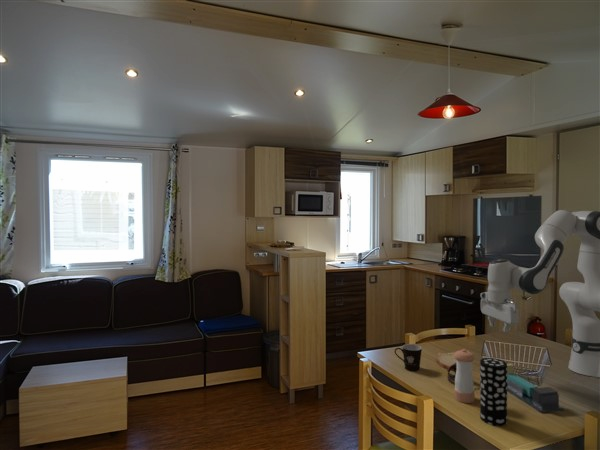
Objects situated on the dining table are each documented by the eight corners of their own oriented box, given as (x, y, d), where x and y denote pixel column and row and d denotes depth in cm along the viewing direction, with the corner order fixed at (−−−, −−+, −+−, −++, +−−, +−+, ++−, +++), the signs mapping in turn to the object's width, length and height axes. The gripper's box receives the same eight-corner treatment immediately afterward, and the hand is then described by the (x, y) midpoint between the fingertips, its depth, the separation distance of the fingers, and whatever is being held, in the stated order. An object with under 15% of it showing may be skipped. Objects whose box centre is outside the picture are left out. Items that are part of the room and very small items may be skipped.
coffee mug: (425, 369, 181) (425, 347, 181) (414, 373, 176) (413, 351, 176) (405, 361, 191) (405, 341, 190) (393, 366, 186) (393, 345, 185)
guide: (516, 382, 166) (516, 367, 166) (563, 410, 142) (563, 393, 142) (497, 384, 164) (497, 369, 164) (541, 412, 141) (541, 395, 141)
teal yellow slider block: (510, 379, 165) (510, 363, 165) (537, 396, 151) (537, 377, 150) (503, 380, 165) (503, 364, 165) (529, 396, 150) (529, 378, 150)
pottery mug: (477, 387, 163) (469, 372, 161) (455, 395, 165) (447, 380, 163) (467, 368, 175) (460, 354, 173) (447, 377, 177) (439, 362, 175)
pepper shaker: (455, 393, 157) (455, 345, 157) (475, 397, 153) (475, 348, 153) (452, 400, 151) (452, 350, 150) (473, 405, 147) (473, 353, 147)
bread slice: (458, 374, 176) (458, 365, 176) (423, 362, 191) (423, 354, 191) (479, 364, 187) (479, 356, 187) (444, 354, 202) (444, 346, 202)
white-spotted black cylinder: (503, 428, 131) (503, 368, 130) (477, 420, 136) (477, 363, 136) (509, 418, 137) (509, 361, 136) (484, 411, 142) (484, 356, 142)
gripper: (523, 302, 159) (522, 336, 160) (490, 292, 180) (490, 322, 180) (509, 302, 158) (508, 337, 159) (477, 292, 179) (477, 323, 179)
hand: (498, 329), depth 170 cm, fingers open, 7 cm apart
